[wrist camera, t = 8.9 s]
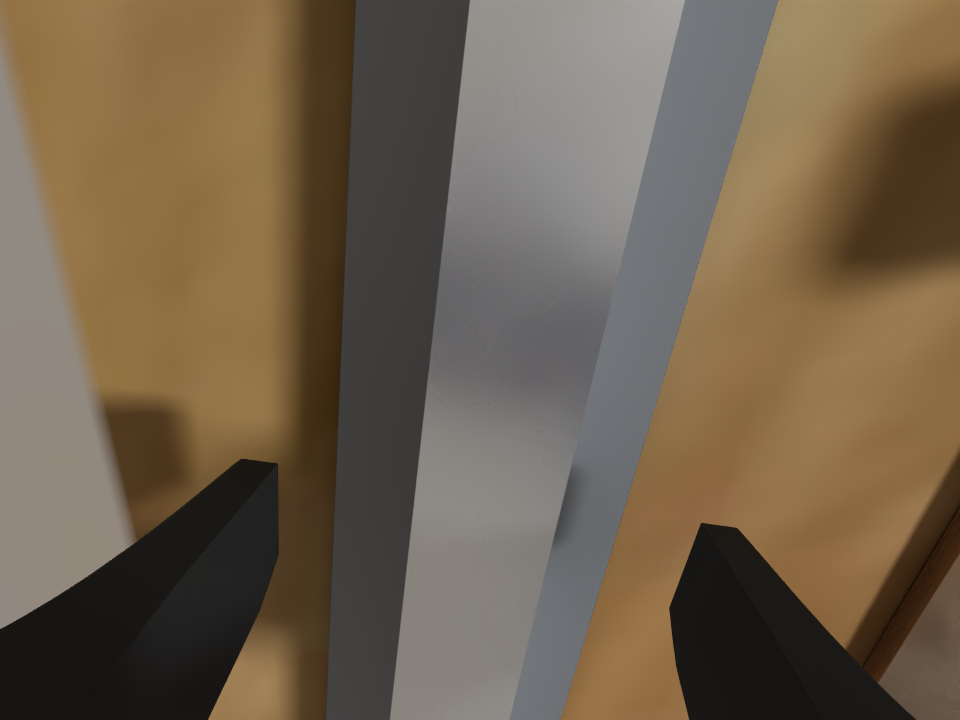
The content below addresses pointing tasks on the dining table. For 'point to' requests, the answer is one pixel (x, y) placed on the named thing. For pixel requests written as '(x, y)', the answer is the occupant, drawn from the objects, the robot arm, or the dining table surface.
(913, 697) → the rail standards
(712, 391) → the dining table surface
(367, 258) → the mat
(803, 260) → the dining table surface
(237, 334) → the dining table surface
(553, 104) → the rail
